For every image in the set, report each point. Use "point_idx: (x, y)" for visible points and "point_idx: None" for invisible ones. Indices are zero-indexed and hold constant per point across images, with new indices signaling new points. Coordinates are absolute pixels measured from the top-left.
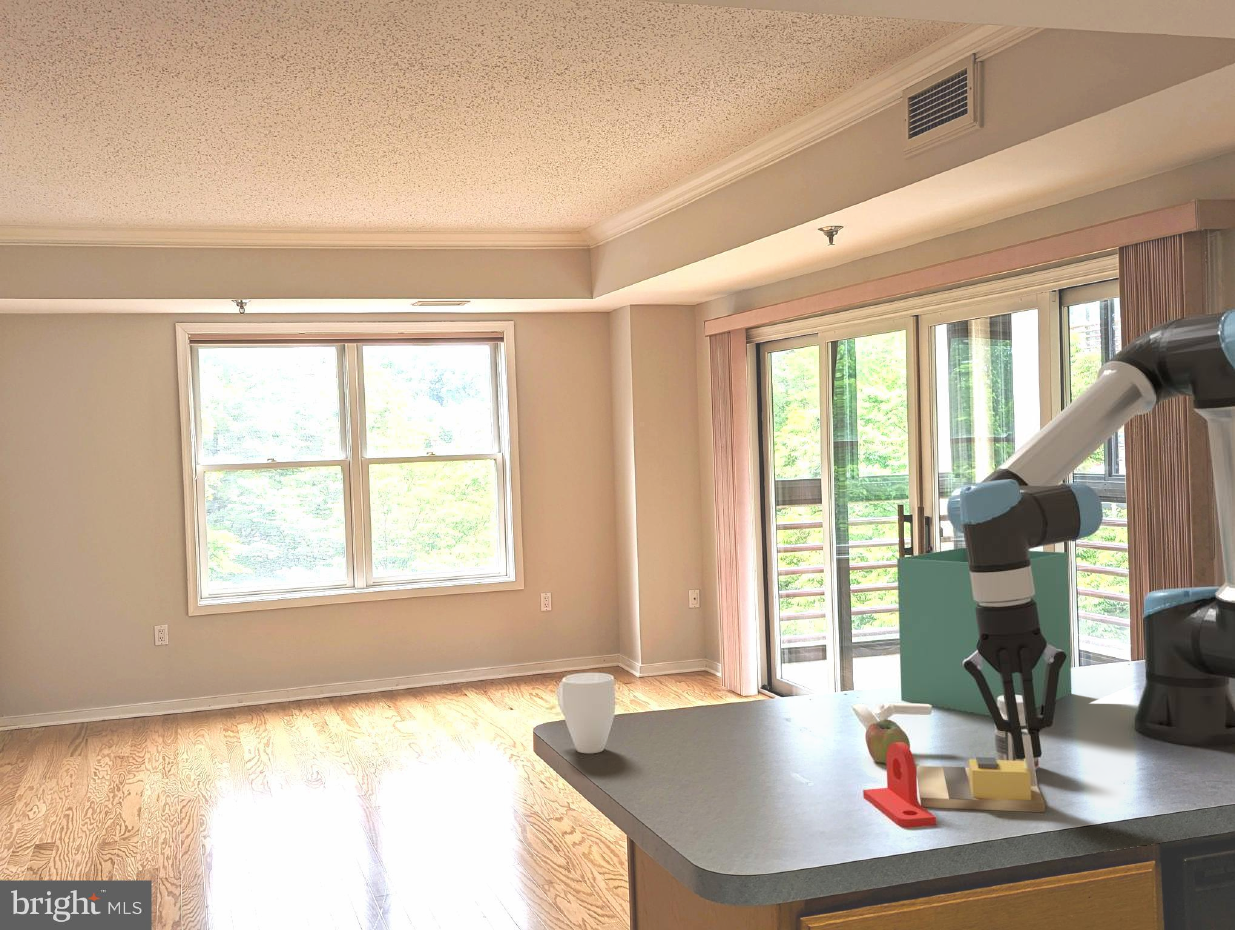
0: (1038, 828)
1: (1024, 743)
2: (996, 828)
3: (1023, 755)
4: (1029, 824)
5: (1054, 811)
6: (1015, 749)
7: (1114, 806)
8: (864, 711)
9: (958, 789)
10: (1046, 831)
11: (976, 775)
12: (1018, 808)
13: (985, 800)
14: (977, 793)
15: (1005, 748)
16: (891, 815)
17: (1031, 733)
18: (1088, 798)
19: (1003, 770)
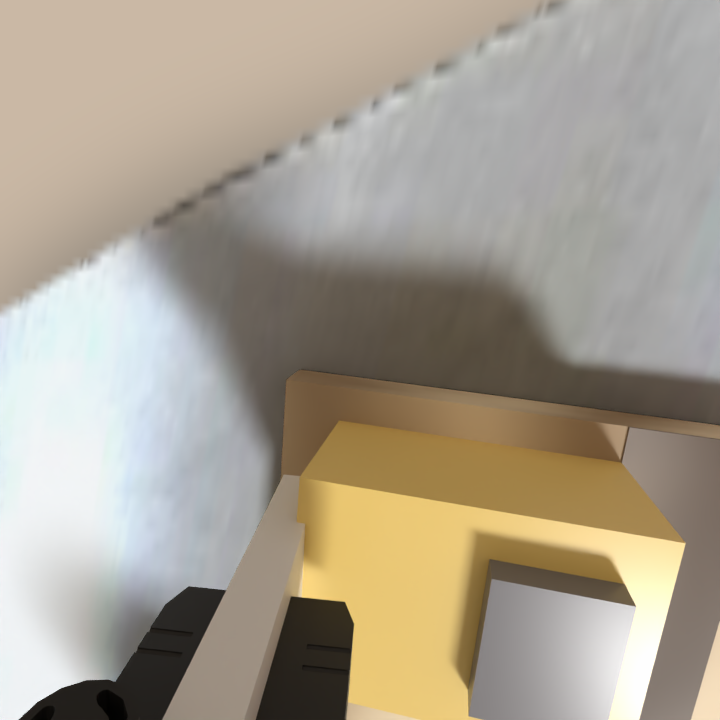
0: (374, 154)
1: (254, 661)
2: (579, 135)
3: (297, 612)
4: (402, 208)
5: (260, 384)
6: (342, 658)
7: (40, 439)
8: None
9: None
10: (348, 114)
11: (642, 520)
12: (408, 386)
13: (566, 417)
14: (603, 468)
15: None
16: None
17: (132, 706)
18: (111, 528)
19: (460, 525)
